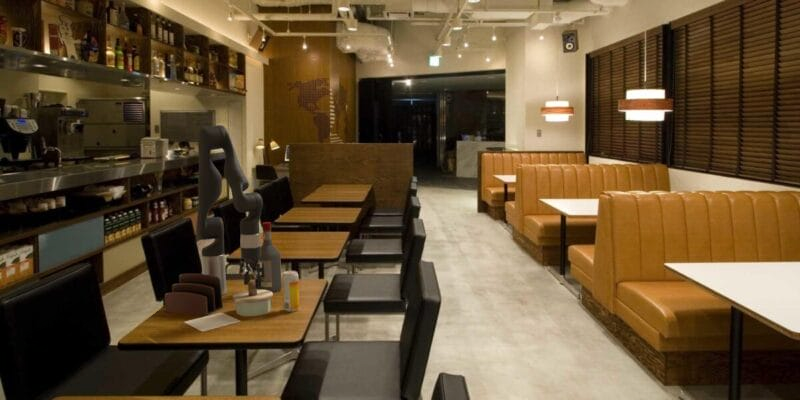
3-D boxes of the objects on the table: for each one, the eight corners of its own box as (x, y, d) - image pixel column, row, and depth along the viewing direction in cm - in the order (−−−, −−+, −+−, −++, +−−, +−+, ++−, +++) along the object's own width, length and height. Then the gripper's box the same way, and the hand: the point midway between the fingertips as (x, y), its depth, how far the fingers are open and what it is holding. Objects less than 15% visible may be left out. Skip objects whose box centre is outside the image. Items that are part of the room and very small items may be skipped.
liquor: (270, 286, 267) (267, 220, 264) (284, 289, 262) (281, 222, 258) (254, 291, 260) (251, 223, 256) (269, 294, 255) (265, 225, 251)
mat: (183, 323, 219) (183, 321, 219) (221, 314, 229) (221, 312, 229) (202, 333, 208) (202, 331, 208) (241, 322, 218) (241, 321, 218)
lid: (225, 297, 230) (224, 282, 229) (260, 289, 240) (259, 275, 239) (245, 305, 219) (244, 289, 218) (280, 297, 229) (279, 281, 228)
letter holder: (182, 305, 242) (179, 271, 240) (223, 309, 235) (221, 274, 233) (164, 313, 232) (162, 277, 231) (207, 317, 226) (205, 281, 224)
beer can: (302, 308, 234) (300, 270, 232) (294, 312, 229) (293, 274, 227) (288, 306, 236) (287, 270, 234) (281, 311, 231) (279, 273, 229)
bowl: (231, 312, 230) (231, 297, 230) (259, 305, 239) (258, 291, 238) (247, 319, 222) (246, 304, 221) (276, 312, 230) (275, 297, 229)
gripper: (232, 244, 229) (234, 285, 231) (251, 249, 219) (253, 292, 221) (249, 241, 235) (252, 281, 237) (269, 246, 224) (271, 288, 226)
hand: (252, 286), depth 229 cm, fingers open, 8 cm apart
